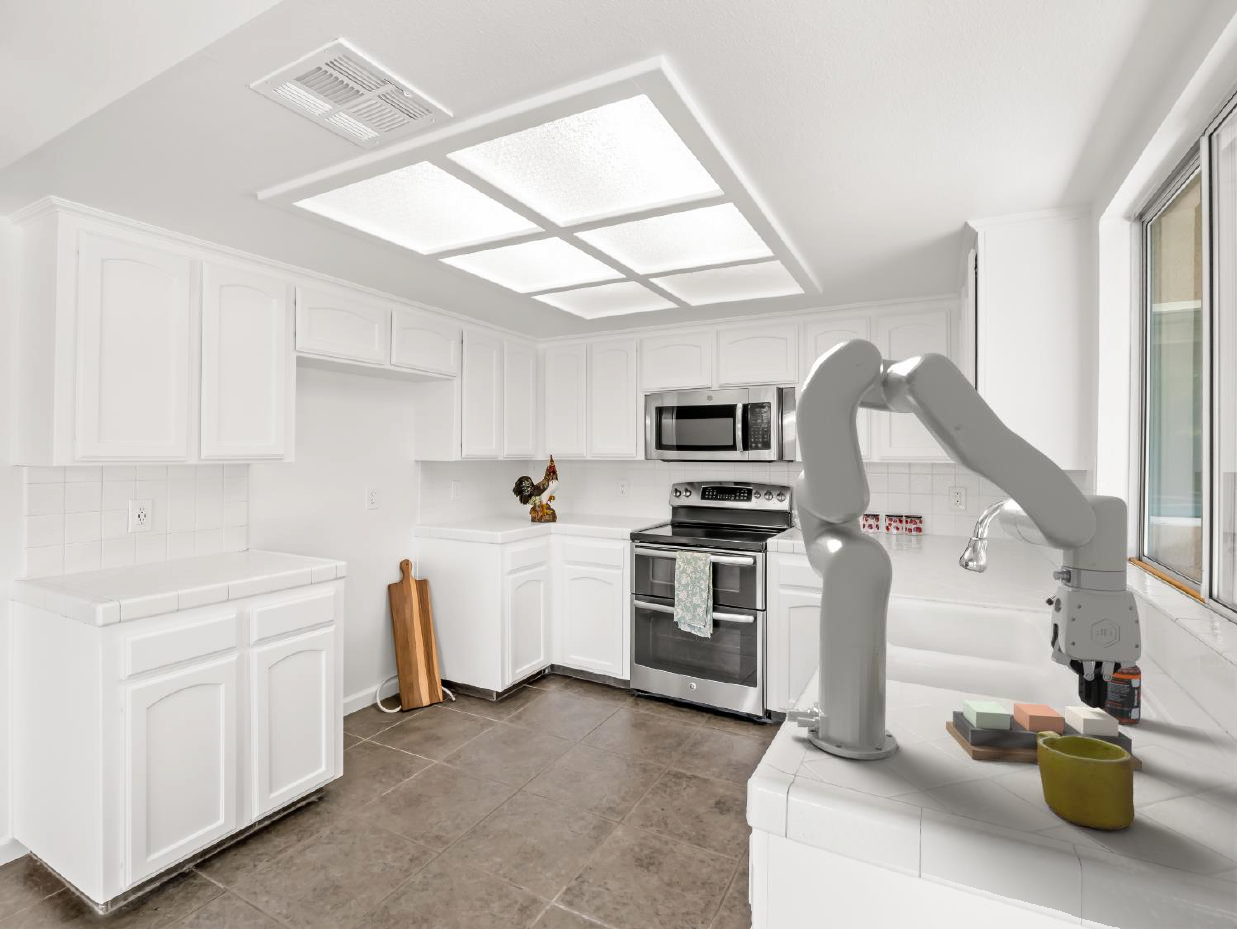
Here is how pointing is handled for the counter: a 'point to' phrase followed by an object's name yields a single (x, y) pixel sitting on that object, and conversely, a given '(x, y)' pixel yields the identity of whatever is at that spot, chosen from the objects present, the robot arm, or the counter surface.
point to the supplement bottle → (1124, 695)
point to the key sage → (986, 715)
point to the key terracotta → (1038, 718)
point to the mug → (1086, 780)
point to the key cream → (1091, 721)
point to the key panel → (1016, 741)
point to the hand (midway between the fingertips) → (1092, 704)
